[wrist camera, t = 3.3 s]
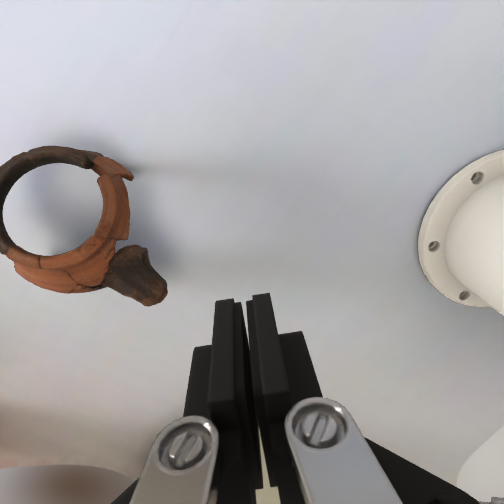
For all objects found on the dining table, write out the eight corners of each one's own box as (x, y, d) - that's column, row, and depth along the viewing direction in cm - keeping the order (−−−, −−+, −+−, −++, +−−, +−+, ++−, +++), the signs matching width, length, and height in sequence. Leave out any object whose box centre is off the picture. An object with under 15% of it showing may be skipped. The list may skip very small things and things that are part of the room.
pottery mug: (15, 252, 27) (-78, 230, 18) (91, 156, 28) (37, 97, 20) (145, 338, 26) (110, 355, 18) (215, 237, 28) (211, 211, 20)
